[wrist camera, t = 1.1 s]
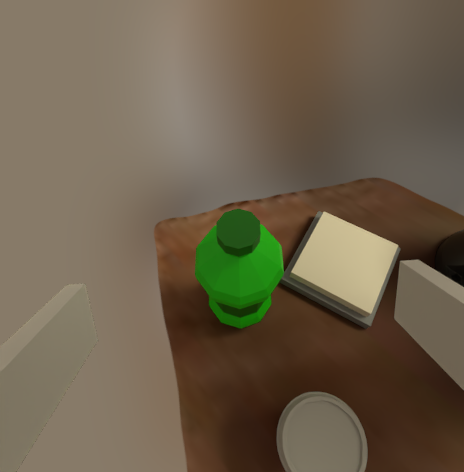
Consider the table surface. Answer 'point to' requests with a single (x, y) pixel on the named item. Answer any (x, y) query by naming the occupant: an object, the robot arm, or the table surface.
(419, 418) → the table surface
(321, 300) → the stepped plinth
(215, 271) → the plastic bottle
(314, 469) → the disposable coffee cup
